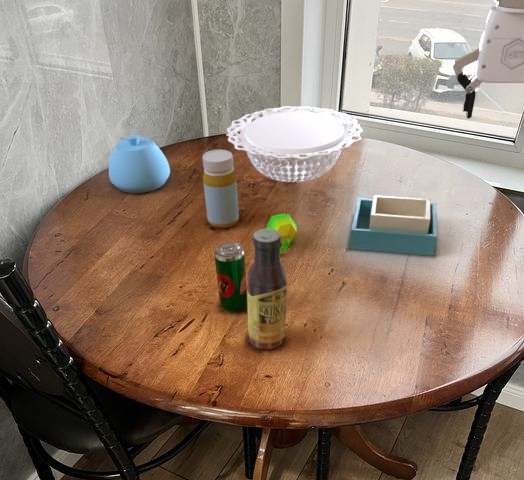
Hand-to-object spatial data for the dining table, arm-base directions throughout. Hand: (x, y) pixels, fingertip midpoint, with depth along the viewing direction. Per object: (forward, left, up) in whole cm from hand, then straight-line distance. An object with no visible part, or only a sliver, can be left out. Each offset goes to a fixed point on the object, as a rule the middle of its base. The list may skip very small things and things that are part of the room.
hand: (498, 116), depth 91 cm
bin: (+14, -3, -26) cm, 30 cm away
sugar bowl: (+77, -19, -26) cm, 84 cm away
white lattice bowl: (+39, -25, -26) cm, 54 cm away
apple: (+36, +4, -26) cm, 45 cm away
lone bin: (+14, -3, -26) cm, 29 cm away
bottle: (+51, -3, -26) cm, 58 cm away
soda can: (+41, +26, -26) cm, 55 cm away
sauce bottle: (+33, +34, -26) cm, 54 cm away
